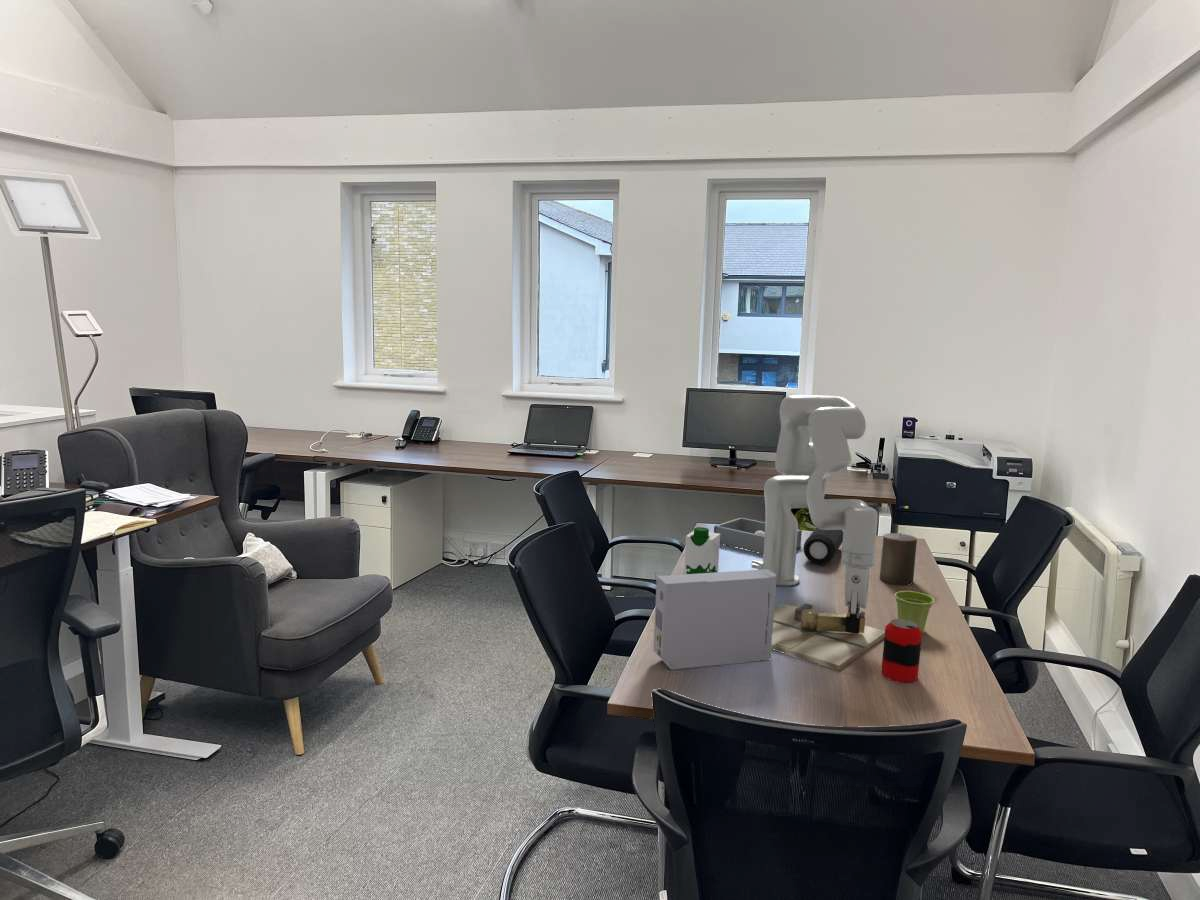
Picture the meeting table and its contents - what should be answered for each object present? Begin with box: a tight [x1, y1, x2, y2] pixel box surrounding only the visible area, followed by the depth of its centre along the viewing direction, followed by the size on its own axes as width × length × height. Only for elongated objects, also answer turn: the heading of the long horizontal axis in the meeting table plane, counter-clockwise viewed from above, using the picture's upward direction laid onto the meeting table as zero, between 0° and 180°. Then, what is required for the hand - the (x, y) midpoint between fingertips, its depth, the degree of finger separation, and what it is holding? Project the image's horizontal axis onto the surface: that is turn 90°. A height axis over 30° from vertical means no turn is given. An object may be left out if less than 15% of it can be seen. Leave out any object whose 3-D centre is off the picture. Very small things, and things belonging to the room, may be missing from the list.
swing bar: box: [801, 609, 866, 633], centre depth 200 cm, size 15×4×5 cm, turn 87°
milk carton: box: [683, 526, 720, 575], centre depth 225 cm, size 9×9×20 cm
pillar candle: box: [879, 532, 918, 586], centre depth 246 cm, size 10×10×15 cm
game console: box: [653, 569, 777, 671], centre depth 183 cm, size 6×27×20 cm, turn 107°
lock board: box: [772, 603, 885, 671], centre depth 200 cm, size 28×28×4 cm
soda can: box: [881, 618, 923, 684], centre depth 179 cm, size 8×8×12 cm
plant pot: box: [894, 590, 935, 634], centre depth 207 cm, size 9×9×9 cm
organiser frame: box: [713, 517, 803, 554], centre depth 282 cm, size 24×18×6 cm
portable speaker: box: [802, 527, 843, 566], centre depth 270 cm, size 26×10×10 cm, turn 156°
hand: (852, 631), depth 196 cm, fingers closed
